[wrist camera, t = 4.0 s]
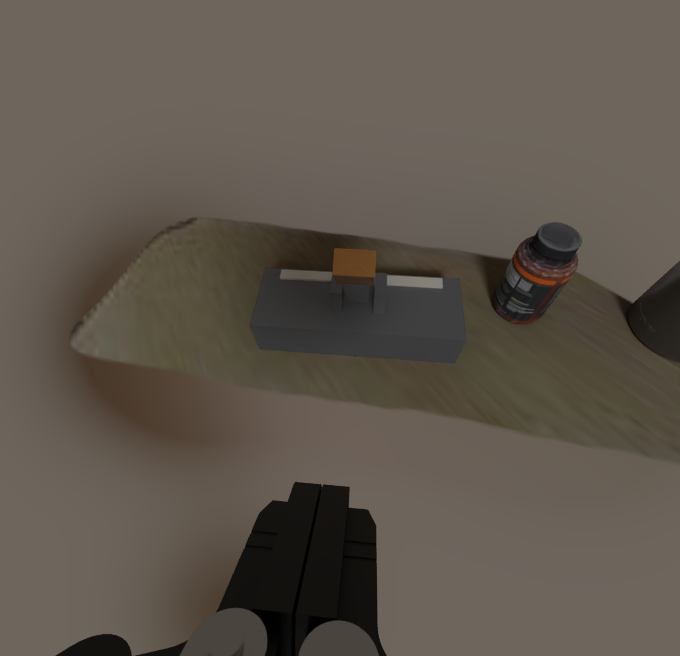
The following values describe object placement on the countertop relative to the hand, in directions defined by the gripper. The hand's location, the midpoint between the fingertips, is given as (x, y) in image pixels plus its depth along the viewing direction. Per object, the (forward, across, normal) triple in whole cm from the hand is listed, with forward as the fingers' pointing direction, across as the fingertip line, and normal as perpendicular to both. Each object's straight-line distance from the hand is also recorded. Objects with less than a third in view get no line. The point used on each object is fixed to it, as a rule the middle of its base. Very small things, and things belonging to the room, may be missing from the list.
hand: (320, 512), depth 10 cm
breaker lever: (+29, 0, -2) cm, 29 cm away
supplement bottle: (+37, -19, -1) cm, 41 cm away
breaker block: (+33, 0, +2) cm, 33 cm away
